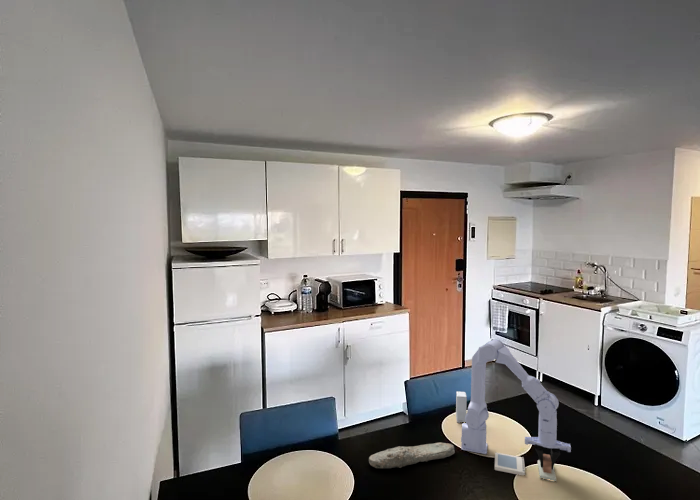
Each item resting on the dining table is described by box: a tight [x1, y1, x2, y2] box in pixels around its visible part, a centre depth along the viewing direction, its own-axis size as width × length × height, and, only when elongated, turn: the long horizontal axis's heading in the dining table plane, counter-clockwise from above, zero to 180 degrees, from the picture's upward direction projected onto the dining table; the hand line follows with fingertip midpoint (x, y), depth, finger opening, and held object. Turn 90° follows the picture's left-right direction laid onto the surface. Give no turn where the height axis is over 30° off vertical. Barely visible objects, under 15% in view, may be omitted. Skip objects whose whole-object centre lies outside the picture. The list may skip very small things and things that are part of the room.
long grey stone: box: [368, 442, 456, 469], centre depth 149 cm, size 35×5×10 cm
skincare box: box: [455, 390, 468, 423], centre depth 179 cm, size 6×4×12 cm
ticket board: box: [494, 451, 526, 476], centre depth 144 cm, size 10×10×1 cm
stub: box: [537, 453, 557, 482], centre depth 140 cm, size 5×10×5 cm, turn 159°
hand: (546, 466), depth 140 cm, fingers closed on stub, 2 cm apart
